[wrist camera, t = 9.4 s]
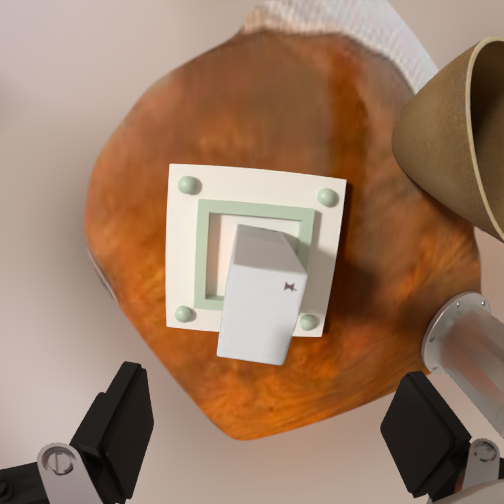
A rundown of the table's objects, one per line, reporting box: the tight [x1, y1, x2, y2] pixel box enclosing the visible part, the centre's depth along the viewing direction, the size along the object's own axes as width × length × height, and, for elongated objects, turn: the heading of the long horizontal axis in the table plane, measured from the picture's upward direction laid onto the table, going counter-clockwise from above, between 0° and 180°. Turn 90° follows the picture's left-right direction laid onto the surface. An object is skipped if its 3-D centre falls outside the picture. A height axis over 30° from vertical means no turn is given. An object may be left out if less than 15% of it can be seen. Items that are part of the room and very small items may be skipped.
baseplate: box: [166, 164, 346, 337], centre depth 28 cm, size 16×16×3 cm
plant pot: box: [392, 36, 504, 243], centre depth 19 cm, size 15×15×16 cm
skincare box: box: [217, 224, 308, 365], centre depth 22 cm, size 6×4×12 cm
